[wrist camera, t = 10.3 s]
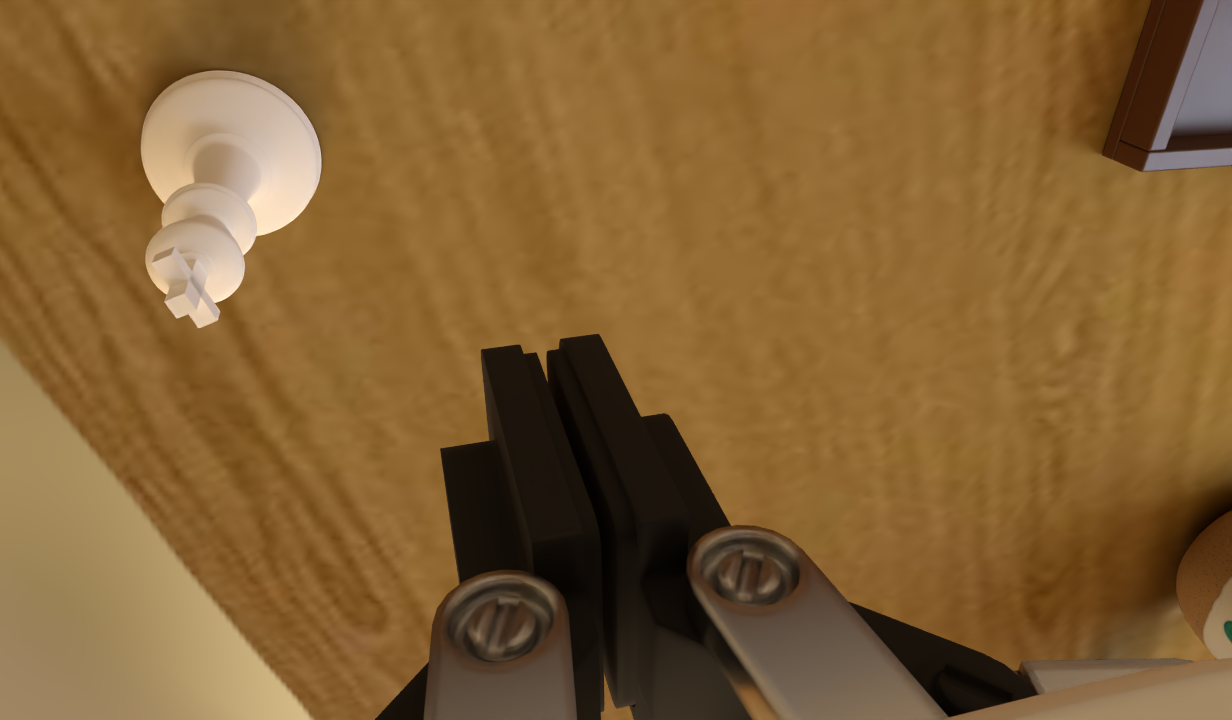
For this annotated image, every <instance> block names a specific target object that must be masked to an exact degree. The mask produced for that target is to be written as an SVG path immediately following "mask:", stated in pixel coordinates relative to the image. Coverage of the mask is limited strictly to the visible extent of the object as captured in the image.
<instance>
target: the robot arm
mask: <svg viewBox="0 0 1232 720" xmlns="http://www.w3.org/2000/svg"><path fill="white" fill-rule="evenodd" d="M481 361H482V372H483V382H484V392H485V401H486V411H487V421H488V431H489V441H485V442H479V443H473V444H466V445H460V446H454V447H447V448H441V449H440V451H441V458H442V466H443V473H444V480H445V487H446V495H447V502H448V509H449V516H450V523H451V530H452V537H453V544H454V551H455V558H456V564H457V571H458V578H459V585H458V586H457V587H456V588H454V589H453V590H452V591H451V592H449V593H448V594H447V595H446V597H445V598H444V600H443V601H442V602H441V604H440V605H439V606H438V608H437V611H436V614H435V617H434V621H433V624H432V634H431V645H430V656H429V662H428V663H427V664H426V665H425V666H424V667H423V669H422V670H421V671H420V672H419V673H418V674H417V675H416V676H415V677H414V678H413V679H412V680H411V681H410V682H409V684H408V685H407V686H406V687H405V688H404V689H403V690H402V691H401V692H400V693H399V694H398V695H397V696H396V697H395V699H394V700H393V701H392V702H391V703H390V704H389V705H388V706H387V707H386V708H385V709H384V710H383V711H382V712H381V714H380V715H379V716H378V717H377V718H376V719H375V720H601V712H603V711H604V674H605V677H606V680H607V684H608V687H609V690H610V694H611V697H612V700H613V703H614V705H615V707H616V708H621V707H625V706H630V709H631V712H632V715H633V718H634V720H1232V658H1224V659H1213V660H1201V661H1190V660H1182V659H1175V658H1170V659H1105V660H1040V661H1022V662H1021V664H1020V667H1019V670H1018V671H1012V670H1011V669H1010V668H1008V667H1007V666H1006V665H1005V664H1003V663H1001V662H999V661H997V660H995V659H993V658H991V657H989V656H987V655H985V654H983V653H980V652H978V651H975V650H972V649H970V648H967V647H965V646H962V645H960V644H957V643H954V642H952V641H949V640H947V639H944V638H941V637H939V636H936V635H934V634H931V633H929V632H926V631H923V630H921V629H918V628H916V627H913V626H910V625H908V624H905V623H903V622H900V621H898V620H895V619H892V618H890V617H887V616H885V615H882V614H879V613H877V612H874V611H872V610H869V609H867V608H864V607H861V606H859V605H856V604H854V603H851V602H848V601H847V600H846V599H845V598H844V597H843V595H842V594H841V593H840V592H839V591H838V590H837V589H836V587H835V586H834V585H833V584H832V583H831V582H830V581H829V579H828V578H827V577H826V576H825V575H824V574H823V572H822V571H821V570H820V569H819V568H818V567H817V566H816V564H815V563H814V562H813V561H812V560H811V559H810V558H809V556H808V555H807V554H806V553H805V552H804V551H803V550H802V549H801V548H800V547H799V546H798V545H796V544H795V543H794V542H793V541H792V540H791V539H789V538H787V537H785V536H783V535H781V534H779V533H777V532H775V531H773V530H769V529H765V528H761V527H758V526H747V525H734V526H731V525H730V523H729V521H728V520H727V518H726V516H725V514H724V512H723V511H722V509H721V507H720V505H719V503H718V502H717V500H716V498H715V496H714V494H713V493H712V491H711V489H710V487H709V485H708V483H707V482H706V480H705V478H704V476H703V474H702V473H701V471H700V469H699V467H698V465H697V464H696V462H695V460H694V458H693V456H692V455H691V453H690V451H689V449H688V447H687V446H686V444H685V442H684V440H683V438H682V436H681V435H680V433H679V431H678V429H677V427H676V426H675V424H674V422H673V420H672V419H671V418H670V416H669V415H667V414H665V413H663V414H657V415H651V416H644V417H641V416H640V414H639V412H638V410H637V408H636V406H635V404H634V402H633V400H632V398H631V396H630V394H629V392H628V390H627V388H626V386H625V384H624V382H623V380H622V378H621V376H620V374H619V372H618V370H617V368H616V366H615V364H614V362H613V360H612V358H611V356H610V354H609V352H608V350H607V348H606V346H605V344H604V342H603V340H602V338H601V337H600V335H599V334H593V335H586V336H579V337H571V338H564V339H560V343H559V349H557V350H550V351H547V377H548V383H547V380H546V377H545V374H544V372H543V369H542V366H541V363H540V361H539V358H538V355H537V353H536V352H535V353H528V354H523V351H522V348H521V346H520V345H511V346H504V347H496V348H489V349H482V350H481Z"/></svg>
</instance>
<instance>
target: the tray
mask: <svg viewBox="0 0 1232 720" xmlns="http://www.w3.org/2000/svg"><path fill="white" fill-rule="evenodd" d="M1102 155H1103V156H1105V157H1107V158H1109V159H1112V160H1114V161H1117V162H1119V163H1121V164H1124V165H1126V166H1128V167H1131V168H1133V169H1135V170H1138V171H1140V172H1149V171H1164V170H1178V169H1193V168H1208V167H1222V166H1232V0H1153V1H1152V4H1151V7H1150V10H1149V13H1148V16H1147V19H1146V22H1145V25H1144V28H1143V31H1142V34H1141V37H1140V40H1139V43H1138V47H1137V50H1136V53H1135V56H1134V59H1133V62H1132V65H1131V68H1130V71H1129V74H1128V77H1127V80H1126V83H1125V86H1124V89H1123V92H1122V96H1121V99H1120V102H1119V105H1118V108H1117V111H1116V114H1115V117H1114V120H1113V123H1112V126H1111V129H1110V132H1109V135H1108V138H1107V141H1106V144H1105V148H1104V151H1103V154H1102Z"/></svg>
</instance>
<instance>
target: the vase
mask: <svg viewBox="0 0 1232 720" xmlns="http://www.w3.org/2000/svg"><path fill="white" fill-rule="evenodd" d="M1176 590H1177V597H1178V600H1179V604H1180V607H1181V610H1182V612H1183V615H1184V617H1185V619H1186V621H1187V622H1188V624H1189V625H1190V627H1191V628H1192V630H1193V631H1194V632H1195V634H1196V635H1197V636H1198V637H1199V639H1200V640H1201V641H1202V642H1203V644H1204V645H1205V646H1206V647H1207V648H1208V650H1209V651H1210V652H1211V653H1212V654H1213V655H1214V656H1215V657H1216V659H1224V658H1232V510H1231V511H1229V512H1227V513H1226V514H1224V515H1223V516H1221V517H1219V518H1218V519H1217V520H1215V521H1214V522H1213V523H1211V524H1210V525H1209V526H1208V527H1207V528H1205V529H1204V530H1203V531H1202V532H1201V533H1200V534H1199V535H1198V537H1197V538H1196V539H1195V540H1194V541H1193V543H1192V544H1191V545H1190V547H1189V548H1188V550H1187V551H1186V553H1185V554H1184V556H1183V558H1182V560H1181V563H1180V566H1179V569H1178V573H1177V578H1176Z"/></svg>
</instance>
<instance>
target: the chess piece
mask: <svg viewBox="0 0 1232 720" xmlns="http://www.w3.org/2000/svg"><path fill="white" fill-rule="evenodd" d="M141 157H142V163H143V167H144V170H145V173H146V176H147V178H148V180H149V182H150V184H151V186H152V188H153V189H154V191H155V193H156V194H157V195H158V197H159V198H160V199H161V200H162V202H163V203H164V204H165V205H164V207H163V211H162V226H163V228H162V229H161V230H159V231H158V232H157V233H156V234H155V235H154V236H153V238H152V239H151V241H150V242H149V245H148V247H147V250H146V257H145V261H146V267H147V271H148V273H149V275H150V277H151V279H152V281H153V282H154V283H155V285H156V286H157V287H158V288H159V289H160V290H161V291H163V292H164V293H165V294H167V296H166V298H165V301H164V302H165V304H166V305H167V306H168V308H169V309H170V310H171V312H172V313H173V314H174V316H175V317H176V318H177V319H178V318H180V317H182V316H185V315H187V314H189V316H190V317H191V318H192V320H193V321H194V323H195V324H196V325H197V327H198V328H201V327H203V326H206V325H208V324H211V323H213V322H215V321H218V318H219V314H220V310H219V309H218V307H217V306H216V305H215V303H216V302H219V301H222V300H224V299H226V298H227V297H229V296H230V295H231V294H233V293H234V292H235V291H236V290H237V288H238V287H239V285H240V284H241V282H242V279H243V277H244V272H245V262H244V257H243V255H244V254H245V253H246V252H247V251H248V250H249V249H250V248H251V246H252V245H253V243H254V241H255V238H256V236H259V235H264V234H267V233H270V232H273V231H276V230H278V229H280V228H282V227H284V226H285V225H287V224H288V223H290V222H291V221H293V220H294V219H295V218H296V217H297V216H298V215H299V214H300V213H301V212H302V211H303V210H304V209H305V207H306V206H307V204H308V203H309V201H310V199H311V198H312V196H313V194H314V192H315V190H316V188H317V185H318V182H319V179H320V174H321V150H320V146H319V142H318V138H317V135H316V133H315V131H314V128H313V126H312V124H311V123H310V121H309V119H308V118H307V116H306V115H305V113H304V112H303V111H302V109H301V108H300V107H299V106H298V105H297V104H296V103H295V102H294V101H293V100H292V99H291V98H290V97H289V96H288V95H286V94H285V93H284V92H283V91H281V90H280V89H278V88H277V87H275V86H274V85H272V84H270V83H268V82H266V81H264V80H262V79H259V78H257V77H254V76H251V75H248V74H244V73H240V72H234V71H219V70H217V71H206V72H200V73H196V74H193V75H190V76H187V77H184V78H182V79H180V80H178V81H176V82H175V83H173V84H172V85H170V86H169V87H168V88H166V89H165V90H164V91H163V92H162V93H161V94H160V95H159V96H158V97H157V98H156V100H155V101H154V102H153V104H152V105H151V107H150V109H149V111H148V113H147V115H146V118H145V121H144V124H143V129H142V137H141Z"/></svg>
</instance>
